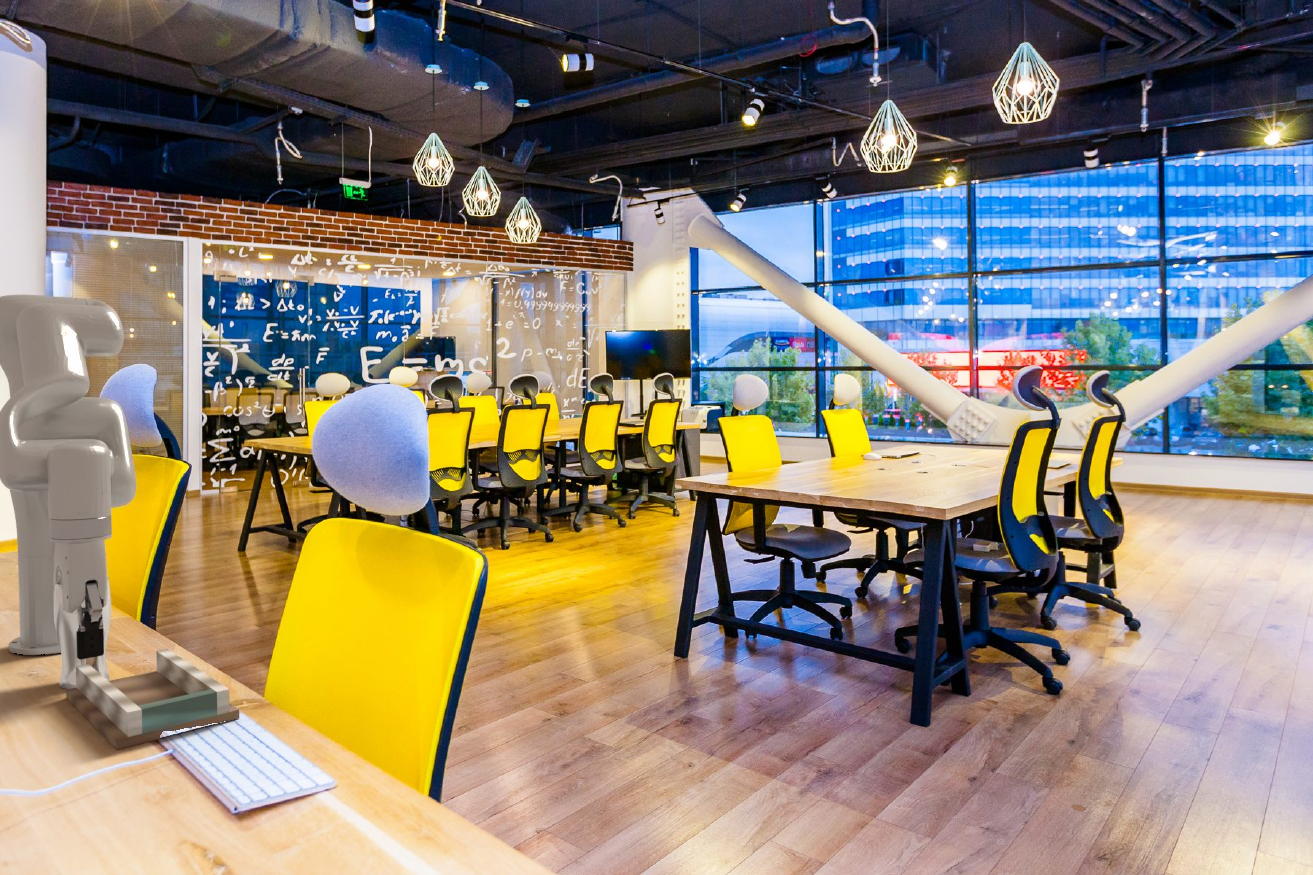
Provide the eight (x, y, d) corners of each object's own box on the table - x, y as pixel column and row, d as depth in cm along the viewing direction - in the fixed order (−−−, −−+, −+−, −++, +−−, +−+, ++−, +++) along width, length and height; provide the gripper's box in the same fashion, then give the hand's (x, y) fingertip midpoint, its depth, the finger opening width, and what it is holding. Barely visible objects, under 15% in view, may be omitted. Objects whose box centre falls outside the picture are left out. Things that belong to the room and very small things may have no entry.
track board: (66, 698, 120) (65, 668, 119) (176, 674, 130) (176, 647, 130) (117, 749, 103) (116, 715, 103) (239, 718, 113) (238, 686, 113)
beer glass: (123, 678, 128) (121, 577, 127) (75, 693, 121) (72, 587, 121) (93, 671, 131) (91, 573, 130) (44, 685, 124) (41, 582, 124)
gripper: (35, 524, 128) (39, 644, 129) (65, 539, 116) (68, 671, 117) (94, 519, 133) (97, 634, 134) (128, 533, 121) (131, 659, 123)
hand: (83, 650), depth 126 cm, fingers closed on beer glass, 6 cm apart
